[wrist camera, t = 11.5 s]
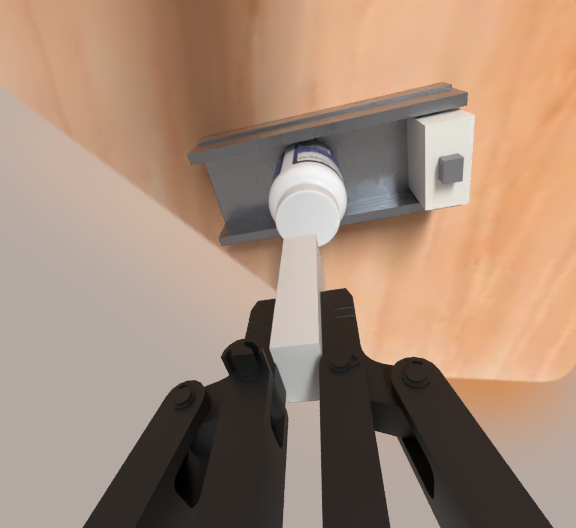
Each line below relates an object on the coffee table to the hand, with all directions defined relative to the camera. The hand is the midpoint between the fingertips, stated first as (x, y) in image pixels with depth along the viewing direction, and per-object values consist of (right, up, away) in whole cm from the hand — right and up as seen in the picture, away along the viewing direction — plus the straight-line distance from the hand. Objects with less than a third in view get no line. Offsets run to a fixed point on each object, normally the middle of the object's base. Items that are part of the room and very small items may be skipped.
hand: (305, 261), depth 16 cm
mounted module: (+10, +9, +11) cm, 18 cm away
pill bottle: (+1, +8, +13) cm, 15 cm away
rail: (+2, +9, +14) cm, 17 cm away
